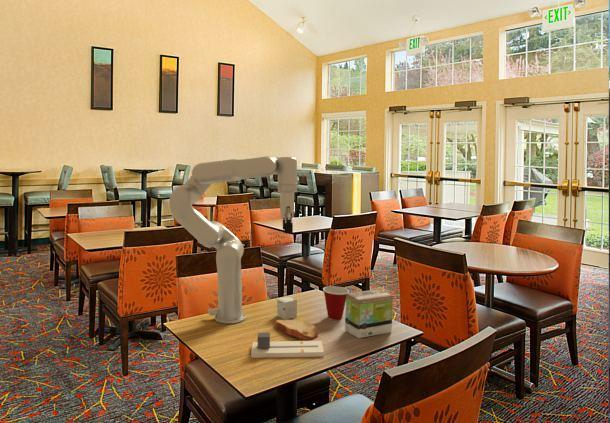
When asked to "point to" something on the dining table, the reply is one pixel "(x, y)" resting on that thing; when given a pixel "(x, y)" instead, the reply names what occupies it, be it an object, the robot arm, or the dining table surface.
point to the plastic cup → (335, 301)
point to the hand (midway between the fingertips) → (287, 231)
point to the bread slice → (297, 329)
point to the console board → (289, 349)
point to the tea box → (368, 313)
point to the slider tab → (263, 340)
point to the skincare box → (287, 308)
